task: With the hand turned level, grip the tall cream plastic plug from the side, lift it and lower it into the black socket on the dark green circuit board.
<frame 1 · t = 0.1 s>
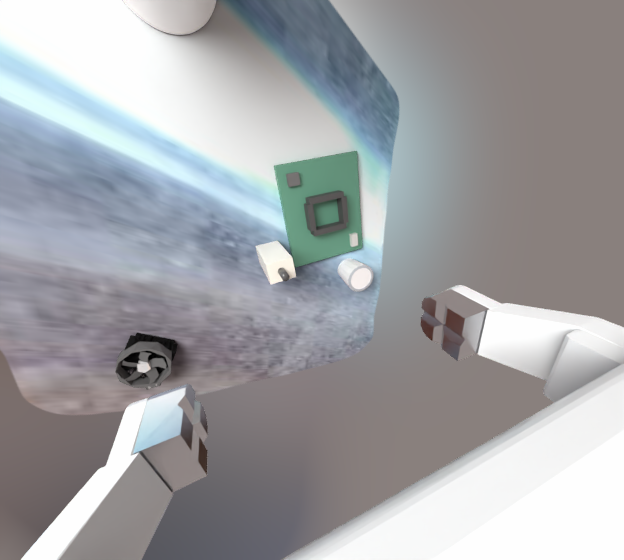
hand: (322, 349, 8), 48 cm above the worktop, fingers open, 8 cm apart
cpu cooler: (149, 351, 57), on the worktop
circuit board: (322, 211, 57), on the worktop
white cup: (347, 268, 66), on the worktop
plug: (268, 251, 57), on the worktop
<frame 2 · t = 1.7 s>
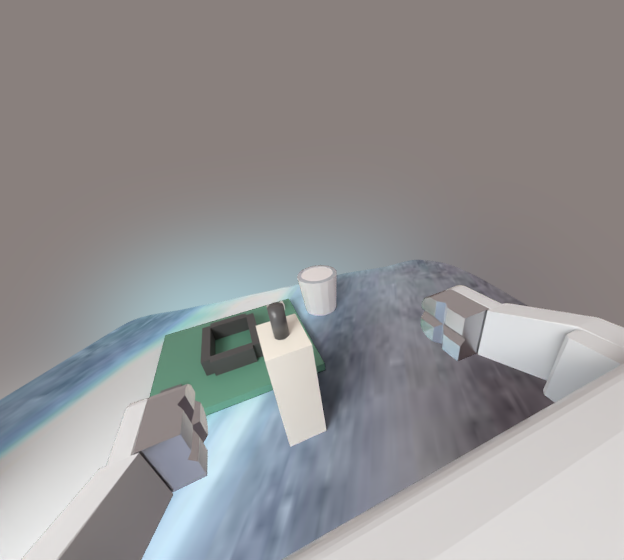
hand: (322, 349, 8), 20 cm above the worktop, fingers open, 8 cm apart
circuit board: (236, 353, 39), on the worktop
white cup: (321, 307, 47), on the worktop
plug: (301, 417, 28), on the worktop
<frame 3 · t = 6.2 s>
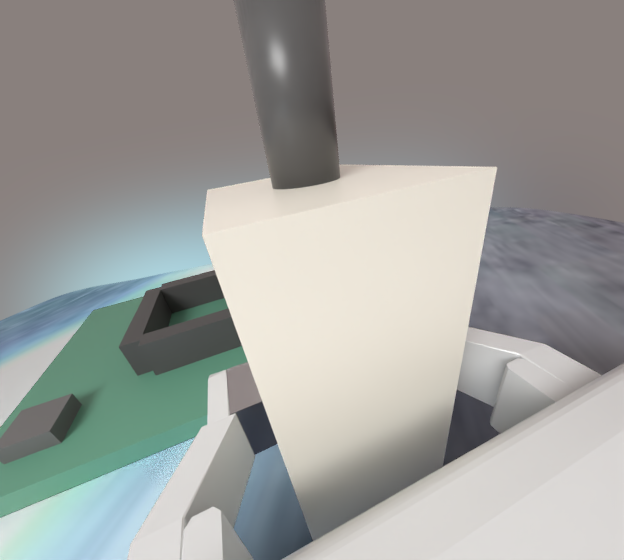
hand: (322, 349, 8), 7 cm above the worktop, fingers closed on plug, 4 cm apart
circuit board: (207, 334, 21), on the worktop
plug: (349, 478, 11), on the worktop, touching gripper
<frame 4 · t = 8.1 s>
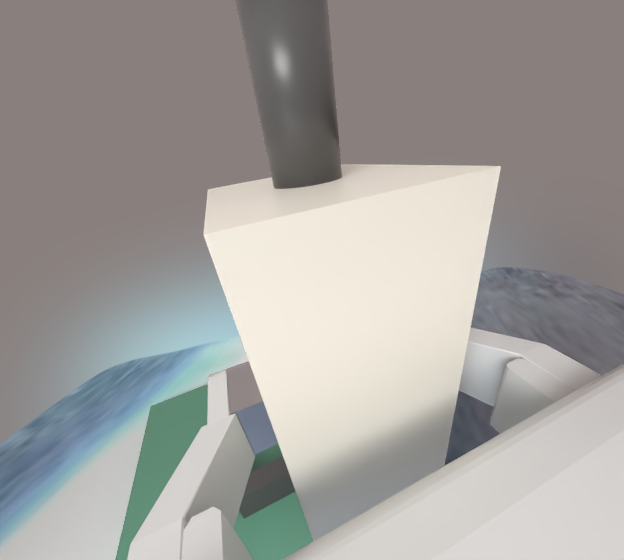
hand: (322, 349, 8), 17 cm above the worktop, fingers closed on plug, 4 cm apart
circuit board: (273, 446, 22), on the worktop
plug: (350, 479, 11), point 10 cm above the worktop, touching gripper
when the fingers open (9 cm above the worktop, at t = 10.2 s): plug drops 2 cm, resting on circuit board.
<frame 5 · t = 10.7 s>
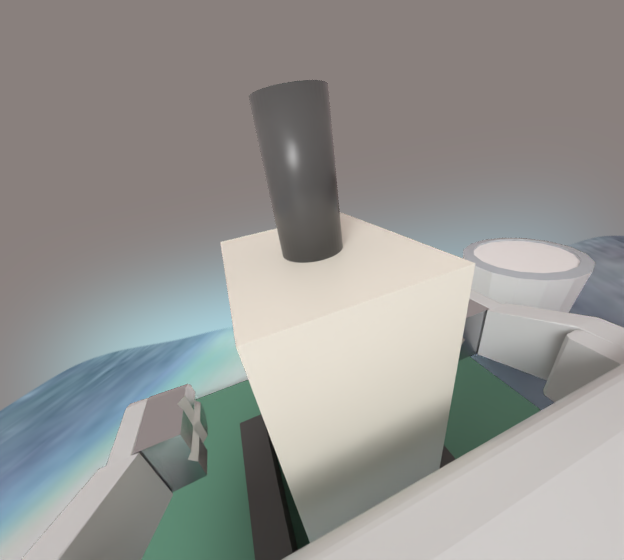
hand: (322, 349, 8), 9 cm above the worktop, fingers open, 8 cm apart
circuit board: (353, 507, 12), on the worktop
white cup: (500, 336, 20), on the worktop
plug: (350, 495, 11), point 1 cm above the worktop, touching circuit board
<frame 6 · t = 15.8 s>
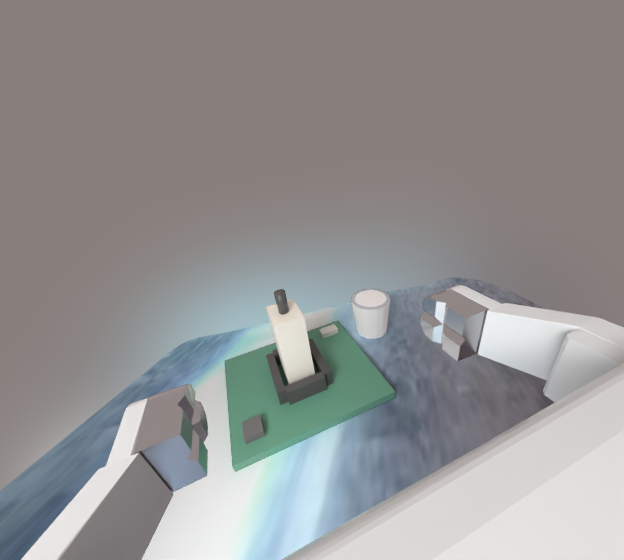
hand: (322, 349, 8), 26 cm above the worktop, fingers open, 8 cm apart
circuit board: (300, 379, 40), on the worktop
white cup: (371, 329, 48), on the worktop
plug: (298, 374, 39), point 1 cm above the worktop, touching circuit board
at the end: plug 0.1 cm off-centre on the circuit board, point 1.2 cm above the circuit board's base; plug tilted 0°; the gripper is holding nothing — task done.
